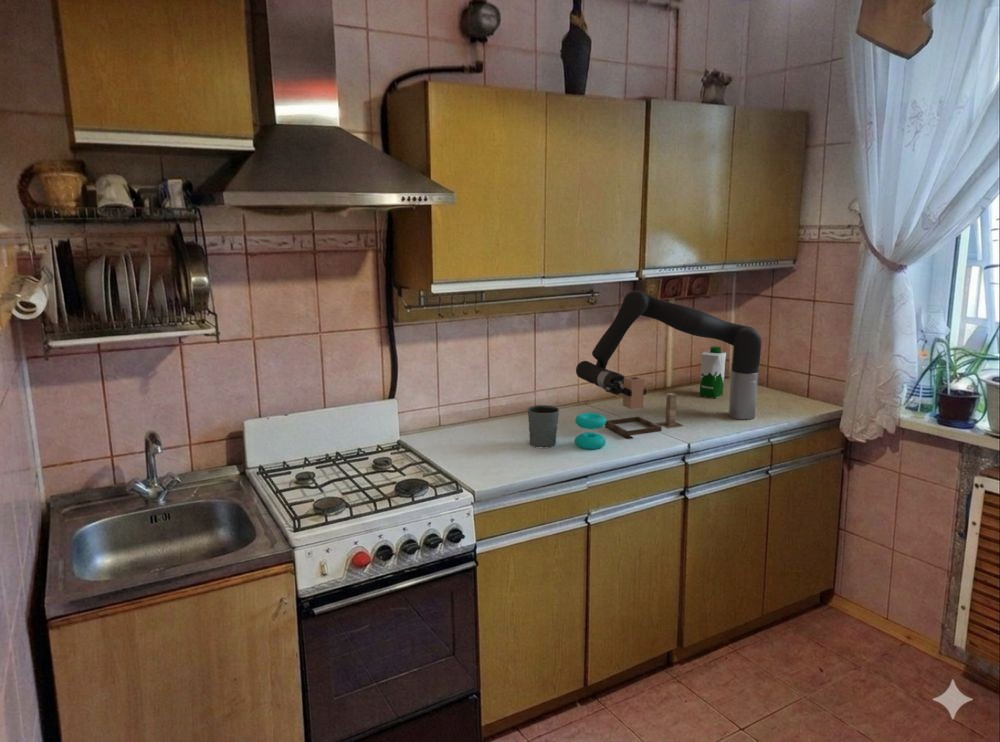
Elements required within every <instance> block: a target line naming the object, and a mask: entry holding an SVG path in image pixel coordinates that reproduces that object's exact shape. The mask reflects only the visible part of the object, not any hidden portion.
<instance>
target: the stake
mask: <svg viewBox="0 0 1000 742" xmlns="http://www.w3.org/2000/svg"><path fill="white" fill-rule="evenodd" d="M665 402H666V404H665V420H664V421H659V422H656V425H658V426H661V427H664V428H666V429H671V428H673V429H674V428H679V427H685V425H683V424H681V423H680V422H677V421H676V412H677V394H675V393H672V392H671V393H669V392H668V393H666V401H665Z"/></svg>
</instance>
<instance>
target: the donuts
mask: <svg viewBox="0 0 1000 742" xmlns="http://www.w3.org/2000/svg"><path fill="white" fill-rule="evenodd" d="M574 421H575V424H576V425H577V426H578V427H579V428H581V429H586V430H598V429H601V428H603V427H605V424H606V421H607V418H606V417H605V416H604V415H602V414H600V413H596V412H584V413H580V414H578V415H577V416H576V417H575V419H574ZM606 442H607V441H606V438H605V437H604V436H603V435H602V434H599V433H597V432H588V431H587V432H583V433H580V434H578V435H576V436H575V439H574V443H575V445H576V446H577V447H579V448H580V447H581V448H580V449H585V450H598V448H599V449H602V448H603V447H605V445H606Z"/></svg>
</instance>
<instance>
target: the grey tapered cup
mask: <svg viewBox="0 0 1000 742" xmlns="http://www.w3.org/2000/svg"><path fill="white" fill-rule="evenodd" d="M559 413H560V408H559V407H557V406H553V405H548V404H547V405H546V404H537V405H531V406H529V407H528V408H527V414H528V417H527V418H528V432H529V434H528V436H529V445H530V446H531V445H532V446H531V447H533V446H535V447H534V448H536V447H550V448H552V447H551V446H553V447H555V446H556V442H557V433H558V432H557V431H558V423H559V417H560V416H559V415H560V414H559ZM554 445H555V446H554Z"/></svg>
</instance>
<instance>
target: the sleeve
mask: <svg viewBox="0 0 1000 742" xmlns="http://www.w3.org/2000/svg"><path fill="white" fill-rule="evenodd" d="M624 387H625V388H627V389H630V390H631V391H632V396H630V397H629V396H627V395H625V394H624V395H622V406H623V407H624V408H628V409H630V410H635V409H643V408H644V396H645V395H644V388H645V379H644V378H642V377H639V376H637V375H634V376H625V377H624Z"/></svg>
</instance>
